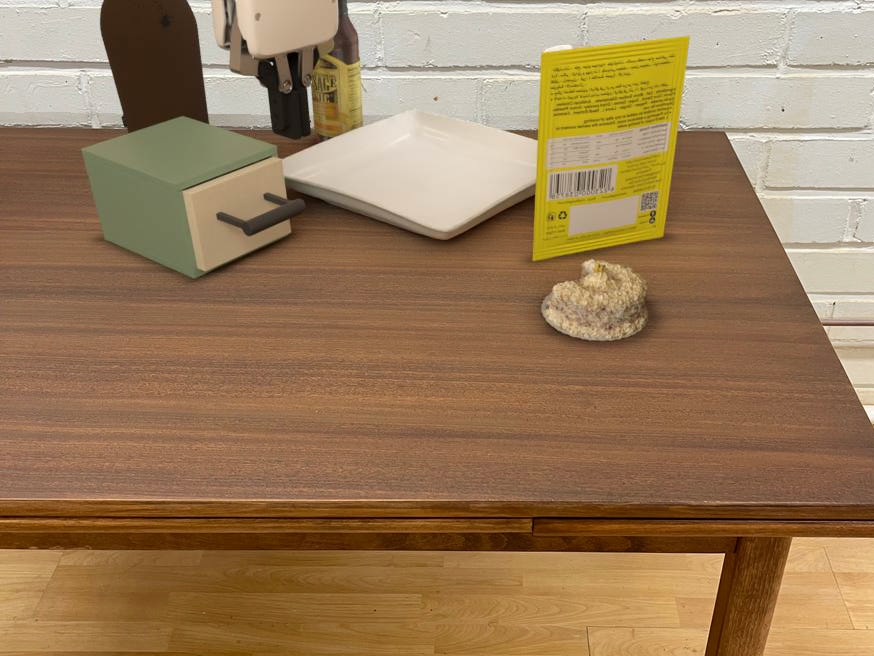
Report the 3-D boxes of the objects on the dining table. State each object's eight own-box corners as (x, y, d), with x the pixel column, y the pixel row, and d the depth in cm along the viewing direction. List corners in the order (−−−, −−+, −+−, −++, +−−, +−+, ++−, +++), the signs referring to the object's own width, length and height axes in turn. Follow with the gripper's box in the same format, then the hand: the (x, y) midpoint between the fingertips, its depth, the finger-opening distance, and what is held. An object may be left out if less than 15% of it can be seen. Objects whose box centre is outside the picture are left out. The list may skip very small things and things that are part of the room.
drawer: (326, 246, 97) (319, 171, 92) (241, 287, 90) (228, 208, 85) (206, 200, 106) (193, 130, 101) (120, 235, 99) (102, 161, 94)
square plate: (447, 264, 96) (447, 227, 94) (261, 198, 109) (256, 164, 107) (590, 182, 113) (593, 149, 111) (414, 133, 126) (412, 103, 123)
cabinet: (288, 235, 101) (277, 145, 95) (194, 279, 93) (175, 183, 87) (199, 201, 108) (182, 115, 102) (104, 239, 100) (80, 148, 94)
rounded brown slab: (235, 150, 121) (200, -75, 105) (187, 180, 113) (142, -59, 97) (163, 140, 123) (119, -82, 108) (112, 168, 116) (56, -66, 100)
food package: (660, 235, 102) (686, 34, 89) (665, 239, 101) (693, 37, 88) (530, 259, 97) (538, 51, 85) (534, 264, 96) (544, 54, 84)
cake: (661, 307, 90) (673, 256, 87) (626, 358, 84) (637, 305, 80) (565, 277, 93) (572, 227, 90) (523, 324, 86) (529, 271, 83)
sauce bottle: (306, 141, 123) (287, -30, 111) (345, 130, 127) (332, -37, 114) (336, 155, 120) (320, -20, 107) (375, 143, 123) (364, -28, 110)
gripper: (303, -124, 78) (321, 105, 90) (154, -107, 69) (195, 147, 80) (371, -115, 75) (381, 123, 86) (223, -96, 65) (256, 168, 77)
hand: (291, 134), depth 83 cm, fingers closed
